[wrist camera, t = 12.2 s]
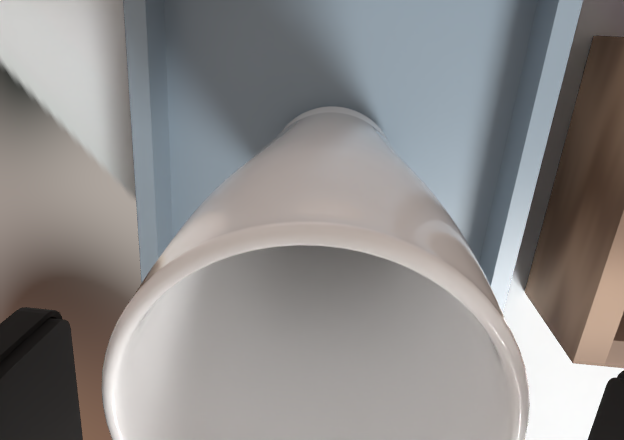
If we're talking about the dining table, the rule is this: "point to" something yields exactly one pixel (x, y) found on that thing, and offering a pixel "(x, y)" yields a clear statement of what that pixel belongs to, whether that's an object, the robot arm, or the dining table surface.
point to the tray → (350, 99)
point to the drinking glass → (316, 308)
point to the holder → (587, 221)
